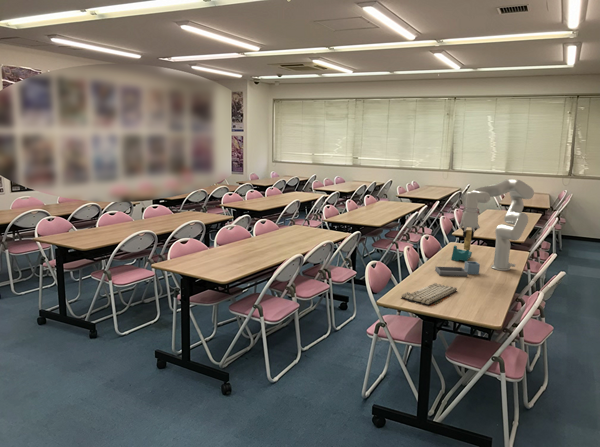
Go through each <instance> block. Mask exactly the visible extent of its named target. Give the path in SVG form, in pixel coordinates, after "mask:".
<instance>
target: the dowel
mask: <svg viewBox="0 0 600 447" xmlns="http://www.w3.org/2000/svg"><path fill="white" fill-rule="evenodd" d="M471 235H472V229H466V238H464V243H463V250H465V251H466V250H469V251H470V250H471V243H472V238H471Z"/></svg>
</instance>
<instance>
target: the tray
mask: <svg viewBox="0 0 600 447" xmlns="http://www.w3.org/2000/svg"><path fill="white" fill-rule="evenodd" d="M434 271H435V273H437V275H438V276H439V277H464V278H465V277H467V278H468V274H467V273H468V272H467V271H466V270H464V268H463V267H461V266H459V267H458V266H457V267H456V266H436V265H435V269H434Z"/></svg>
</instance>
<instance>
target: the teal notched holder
mask: <svg viewBox="0 0 600 447" xmlns="http://www.w3.org/2000/svg"><path fill="white" fill-rule="evenodd" d="M472 255H473V252H472V251H470V250H465V249H460V248H458V247H457V245H454V246H453V250H452V254H451V259H450V260H451V261H456V262H459V261H463V262H465V261H469V259H470V258H471V257H472Z"/></svg>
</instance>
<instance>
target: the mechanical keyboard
mask: <svg viewBox="0 0 600 447" xmlns="http://www.w3.org/2000/svg"><path fill="white" fill-rule="evenodd" d="M456 293H458V287H454V286H448V285H445V284H443V285H442V284H440V283H436V282H434V283H431V284H430V285H427V286H425V287H422V288H420V289H417V290H415V291H414V292H411V293H410V292H408V291H407V292H405V293H403V294H402V295H401V298H400V300H404V301H408V302H410V303H413V304H414V303H415V304H419V305H423V306H426V307H434V306H437V305H439V304H440V303H442V302H444V301H445V300H447V299H448V298H450V297H451V296H452V295H454V294H456Z"/></svg>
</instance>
